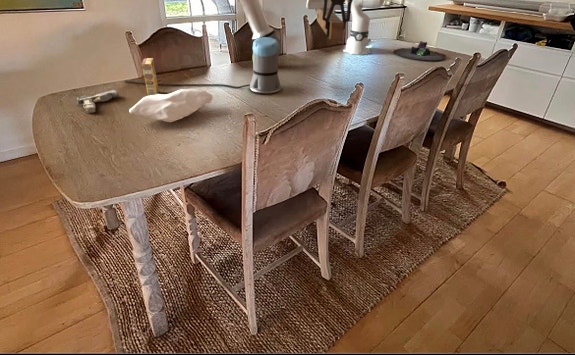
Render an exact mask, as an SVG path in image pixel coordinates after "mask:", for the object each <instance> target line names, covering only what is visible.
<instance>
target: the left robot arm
mask: <svg viewBox="0 0 575 355" xmlns="http://www.w3.org/2000/svg"><path fill="white" fill-rule="evenodd" d="M238 1H239V3H240V6H241V8H242V10H243V13H244V15H245V17H246V20H247V23H248V25H249V27H250V30H251V32H252V37H251V40H252V42H253V43H252V57H253V60H252V69H253V70H252V77H251V81H250V83H249V84H244V85H240V86H237V85H235V86H234V85H231V84H223V83H158V82H157V84H158V86H175V87H177V86H178V87H179V86H180V87H193V86H194V87H200V86H201V87H202V86H203V87H206V86H207V87H228V88H233V89H241V88H246V87H249V91H250V92H251V93H253V94H255V95H261V96H271V95H277V94H279V93H281V92H282V85H281V81H280V78H279V57H280V55H281V52H282V43H281V41H280V38H279V37H278V36H277V34H276V32H275V29H274V28H273V27H270V25H269V23H268V20H267V17H266V14H265V12H264V9H263V7H262V4H261V2H260V0H238ZM345 1H346V0H331V2H332V3H331V6H330V9H329V11H328V14H327V17H326V18H325V16H326V9H327V2H328V0H324V6H323V14H322V19H323V20H324V21H325V29H327V33H325V35H326V37H327V38H328V37H329V28H330V22H329V19H330V16H331V14H332V11H333V8H334V6H335V5H340V7H341V10H340V14H341V20H342V21H343V22H344V27H343V31H345V29H346V23H347V22H350V21H351V14H352V13H351V4H352V1H353V0H347V2H348V6H347V5H346V6H347V7H346V10H345ZM124 83H131V84H139V85H140V84H141V85H146V83H145V81H143V82H142V81H135V80H126V79H125V80H124Z"/></svg>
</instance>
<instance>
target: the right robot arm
mask: <svg viewBox="0 0 575 355" xmlns="http://www.w3.org/2000/svg"><path fill="white" fill-rule="evenodd" d="M385 1H386V0H353V1H352V4H351V13H350V14H351V21H352V22H351V29H350V32H349V37H348V38H347V39H346V45H345V47H344V48H343V50H342V52H344V53H347V54H351V55H368V54H371V53H372V51H371V50H370V48H372V45H370V42H372V41H371V40H372V39H371V38H369V35H370V34H369V33H370V31H369V28H370V27H369V26H370V22H371V19H370V17H369V15H368V14H367V13H365V12H364V11H363V9H364V8H365V9H379V8H381V7H382V6H384V4H385ZM331 3H332V2H331V0H328V2H327V9H330V6H331ZM305 4H306V5H305V7H306V9H307V10H314V13H315V18H316V19H317V18H319V14H317V13H318V9H320V8H323V6H324V0H306V3H305ZM344 5H346V6H348V2H347V0H346V1H345V2H344ZM335 11H341V7H340V5H335V6H334V8H333V12H334V13H335Z"/></svg>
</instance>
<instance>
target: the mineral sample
mask: <svg viewBox="0 0 575 355" xmlns="http://www.w3.org/2000/svg"><path fill="white" fill-rule="evenodd" d="M427 46H428V42H427V41H422V40H421V41H420V42H419V43H418V45H417V46H411V48H406V47H402V48H401V47H400V48H396V49H393V51H392V52H393V53H394V54H395V55H397V56H400V57H403V58H407V59H413V60H420V61H442V60H445V59H446V58H447V57H446V56H447V55H446V54H444V53H440V52H437V51H432V50H430V48H428V47H427Z"/></svg>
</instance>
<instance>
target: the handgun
mask: <svg viewBox="0 0 575 355" xmlns="http://www.w3.org/2000/svg"><path fill="white" fill-rule="evenodd" d="M119 96H120V94H119V92H118V91H117V90H116V89H112V90H108V91H105V92H104V91H103V92H101V93H96V94H94V95H86V94H85V95H84V94H83V95H81V96H80V97H77V98H76V101H77V104H78V105H82V108H83V109H84V110H85V113H87V114H91V113H95V112H96V104H95V103H98V102H106V101H109V100H111V99H113V98H117V97H119Z"/></svg>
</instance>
